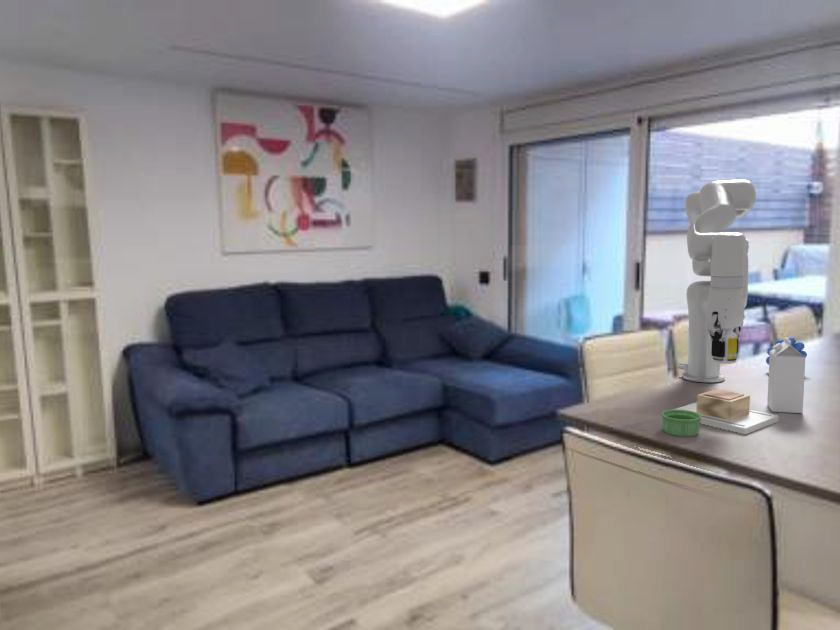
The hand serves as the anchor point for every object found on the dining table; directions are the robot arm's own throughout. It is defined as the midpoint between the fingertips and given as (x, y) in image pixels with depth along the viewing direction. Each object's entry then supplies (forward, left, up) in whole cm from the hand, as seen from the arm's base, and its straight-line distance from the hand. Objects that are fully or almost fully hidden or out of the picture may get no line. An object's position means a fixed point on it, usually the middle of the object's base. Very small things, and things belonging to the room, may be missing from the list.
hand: (724, 354), depth 161 cm
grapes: (-14, +64, -17) cm, 68 cm away
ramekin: (-1, -17, -17) cm, 24 cm away
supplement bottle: (0, 0, -2) cm, 2 cm away
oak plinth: (0, 0, -15) cm, 15 cm away
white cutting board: (0, 0, -17) cm, 17 cm away
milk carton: (+6, +20, -17) cm, 27 cm away
